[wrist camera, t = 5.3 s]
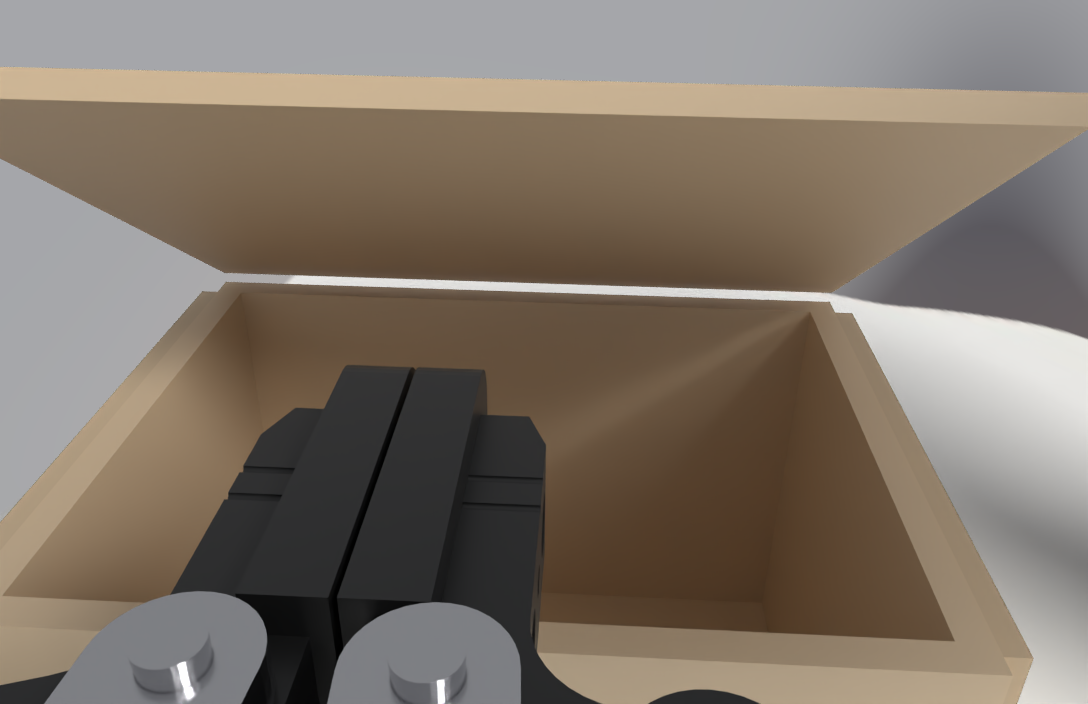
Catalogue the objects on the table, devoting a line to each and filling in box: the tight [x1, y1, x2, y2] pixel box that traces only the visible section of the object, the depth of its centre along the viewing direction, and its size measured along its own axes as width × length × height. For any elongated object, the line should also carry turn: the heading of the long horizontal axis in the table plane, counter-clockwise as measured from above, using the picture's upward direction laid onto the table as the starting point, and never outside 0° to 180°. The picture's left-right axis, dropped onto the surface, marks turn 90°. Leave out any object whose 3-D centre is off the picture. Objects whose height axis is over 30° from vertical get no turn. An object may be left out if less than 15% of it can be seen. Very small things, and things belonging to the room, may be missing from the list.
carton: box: [0, 282, 1034, 704], centre depth 25 cm, size 19×14×12 cm
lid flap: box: [0, 67, 1088, 293], centre depth 21 cm, size 18×14×1 cm
